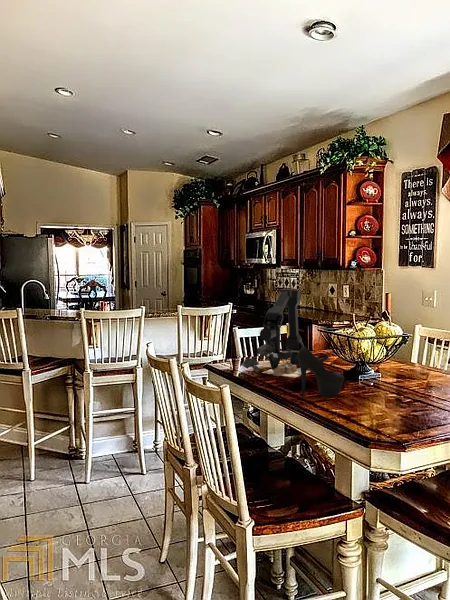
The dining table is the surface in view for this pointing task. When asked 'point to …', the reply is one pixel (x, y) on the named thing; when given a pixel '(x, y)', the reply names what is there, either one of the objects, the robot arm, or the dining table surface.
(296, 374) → the birch board
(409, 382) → the dining table surface
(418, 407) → the dining table surface
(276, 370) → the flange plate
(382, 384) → the dining table surface
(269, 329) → the robot arm
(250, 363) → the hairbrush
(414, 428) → the dining table surface
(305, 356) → the high-heeled shoe
